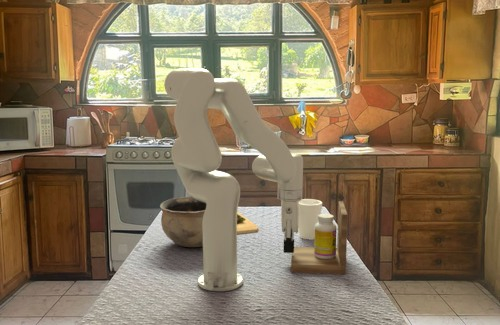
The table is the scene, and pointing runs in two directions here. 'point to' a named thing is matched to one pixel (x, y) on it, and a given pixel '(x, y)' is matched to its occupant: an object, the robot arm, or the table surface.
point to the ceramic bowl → (183, 221)
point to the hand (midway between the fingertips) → (288, 251)
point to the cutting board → (245, 225)
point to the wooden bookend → (309, 263)
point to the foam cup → (308, 217)
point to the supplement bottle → (325, 237)
